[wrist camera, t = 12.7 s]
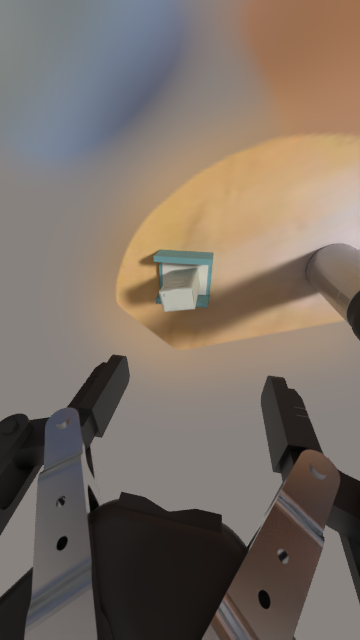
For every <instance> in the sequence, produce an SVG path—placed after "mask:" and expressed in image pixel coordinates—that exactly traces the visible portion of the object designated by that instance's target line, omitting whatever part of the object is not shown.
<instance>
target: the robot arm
mask: <svg viewBox="0 0 360 640" xmlns="http://www.w3.org/2000/svg"><path fill="white" fill-rule="evenodd" d="M306 276H307V279H308V281H309V282H310V283H311V284H312V285H313V286H314V287H315V288H316V290H317V291H318V292H319V293H320V294H321V295H322V296H323V297H324V298H325V299H326V300H327V301H328V302H329V303H330V304H331V306H332V307H333V308H334V309H335V310H336V311H337V312H338V313H339V314H340V315H341V316H342V317H343V318H344V319H345V320H346V321H347V322H348V323H349V325H350V326H351V327H352V330H353V332H354V334H355V335H356V336H357V338H358V339H359V340H360V250H358V249H356V248H354V247H351V246H349V245H346V244H332V245H329V246H326V247H324V248H322V249H321V250H319V251H318V252H316V253H315V254H314V255H313V256H312V258H311V259H310V261H309V263H308V265H307V268H306ZM129 377H130V374H129V368H128V362H127V357H126V356H120V355H112V356H111V357H110V359H109V361H108V362H107V363H105V362H103V363H101V364H100V365H99V366H98V367H96V368H95V369H94V371H93V372H92V373H91V375H90V377H88V379H87V380H86V383H84V384H83V386H82V387H81V389H80V390H79V392H78V393H77V394H76V396H75V397H74V399H73V400H72V401H71V403H70V404H69V405H68V406H67V408H63V409H60V410H58V411H57V412H55V413H54V414H53V415H51V417H48V418H42V419H35V420H29V419H28V417H27V416H26V415H24V414H15V415H11V416H9V417H7V418H5V419H4V420H2V421H1V422H0V535H1V533H2V532H3V530H4V528H5V527H6V525H7V523H8V522H9V520H10V518H11V517H12V515H13V513H14V512H15V510H16V508H17V506H18V505H19V503H20V502H21V500H22V498H23V496H24V495H25V493H26V491H27V490H28V488H29V486H30V485H31V483H32V482H33V480H34V478H35V477H36V475H37V473H38V471H39V470H40V468H41V467H42V465H44V470H43V472H41V473H40V474H39V477H38V483H37V502H36V522H35V540H34V561H33V567H32V568H31V569H30V570H29V571H28V572H27V573H26V574H25V575H24V576H22V577H21V578H20V579H19V580H18V581H17V582H16V583H15V584H14V585H13V586H12V587H11V588H10V589H8V590H7V591H6V592H5V593H4V594H3V595H2V596H1V597H0V640H296V639H295V637H294V633H295V630H296V627H297V624H298V620H299V618H300V615H301V612H302V609H303V606H304V603H305V600H306V597H307V594H308V591H309V588H310V585H311V582H312V579H313V576H314V573H315V570H316V567H317V564H318V561H319V558H320V555H321V552H322V549H323V546H324V537H323V531H324V528H325V525H327V526H328V527H330V528H332V529H334V530H335V531H337V532H339V535H340V538H341V542H342V545H343V548H344V552H345V555H346V559H347V562H348V565H349V568H350V572H351V576H352V579H353V582H354V586H355V589H356V592H357V596H358V599H359V603H360V481H358V480H356V479H354V478H352V477H350V476H348V475H346V474H344V473H342V472H341V471H339V470H338V469H337V468H336V467H335V465H334V464H333V463H332V462H331V460H330V459H329V458H327V457H326V456H325V455H324V454H323V452H322V450H321V447H320V445H319V442H318V440H317V437H316V434H315V432H314V429H313V427H312V424H311V421H310V419H309V416H308V414H307V411H306V410H305V405H304V403H303V400H302V398H301V397H300V396H299V395H298V393H297V392H296V391H295V389H289V388H288V387H287V384H286V381H285V379H284V378H283V377H275V376H268V377H267V380H266V383H265V386H264V389H263V392H262V395H261V407H262V412H263V418H264V424H265V429H266V435H267V440H268V446H269V452H270V457H271V463H272V469H273V472H277V473H281V475H282V480H283V483H282V484H281V486H280V488H279V490H278V491H277V493H276V495H275V497H274V499H273V500H272V502H271V504H270V506H269V508H268V510H267V511H266V513H265V515H264V517H263V518H262V520H261V522H260V524H259V526H258V527H257V529H256V530H255V532H254V534H253V536H252V538H251V539H250V541H249V543H248V545H247V547H246V546H245V544H244V543H243V541H242V540H241V539H240V538H239V536H238V535H237V534H236V533H235V532H234V531H233V530H232V529H230V528H229V527H228V526H227V525H225V524H223V523H222V515H220V514H216V513H212V512H207V511H203V510H199V509H191V510H182V511H172V512H169V511H166V510H164V509H163V508H161V507H160V506H158V505H156V504H155V503H153V502H152V501H150V500H148V499H147V498H145V497H142V496H137V495H133V494H129V493H124V492H121V495H120V498H119V499H116V500H112V501H109V502H107V503H105V504H103V505H102V502H101V497H100V492H99V488H98V484H97V479H96V473H95V466H94V460H93V454H92V446H91V442H92V440H93V438H94V437H95V436H96V437H101V438H102V436H103V434H104V432H105V430H106V428H107V426H108V424H109V422H110V420H111V418H112V416H113V414H114V412H115V410H116V408H117V405H118V404H119V401H120V399H121V397H122V395H123V393H124V391H125V389H126V387H127V385H128V382H129Z"/></svg>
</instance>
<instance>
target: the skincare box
mask: <svg viewBox="0 0 360 640" xmlns="http://www.w3.org/2000/svg"><path fill="white" fill-rule="evenodd" d="M199 287H200V280H199V272H198V268H188V269H180V270H173V271H171V273H170V275H169V276H168V278H167V279H166V281H165V283H164V284H163V286H162V288H161V289H160V291H159V293H160V298H161V302H162V306H163V309H164V311H179V310H190V309H195V306H196V301H197V297H198V292H199Z"/></svg>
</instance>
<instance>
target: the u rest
mask: <svg viewBox="0 0 360 640" xmlns="http://www.w3.org/2000/svg"><path fill="white" fill-rule="evenodd" d="M154 262H159V274H160V289H161V288H162V286H163V284H164V283H165V281H166V279H167V278H168V276H169V275H170V273H171V271H173V270H180V269H188V268H198V272H199V280H200V287H199V292H198V297H197V301H196V306H195V307H202V308H208V303H209V294H210V283H211V273H212V262H213V253H208V252H190V251H172V250H159V251H158V252H157V253H156V254H155V255H154ZM156 303H159V304H162V302H161V298H160V293H159V294H158V296H157V298H156Z"/></svg>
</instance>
